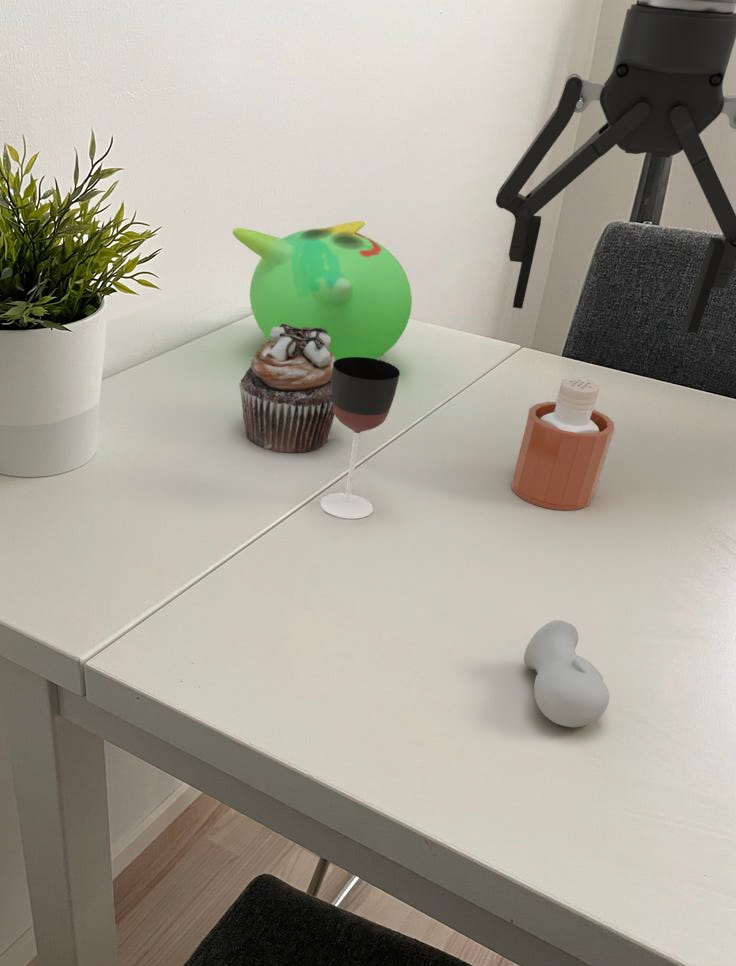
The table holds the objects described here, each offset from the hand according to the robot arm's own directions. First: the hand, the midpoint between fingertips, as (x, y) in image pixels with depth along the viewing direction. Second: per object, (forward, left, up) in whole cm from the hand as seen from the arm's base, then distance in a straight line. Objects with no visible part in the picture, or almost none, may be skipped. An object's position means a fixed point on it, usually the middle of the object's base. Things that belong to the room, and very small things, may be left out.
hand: (602, 315), depth 80 cm
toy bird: (+26, -23, -16) cm, 38 cm away
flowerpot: (0, 0, -16) cm, 16 cm away
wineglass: (+17, +10, -16) cm, 26 cm away
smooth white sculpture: (-1, +31, -16) cm, 35 cm away
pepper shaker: (0, 0, -16) cm, 16 cm away
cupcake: (+25, -2, -16) cm, 30 cm away
